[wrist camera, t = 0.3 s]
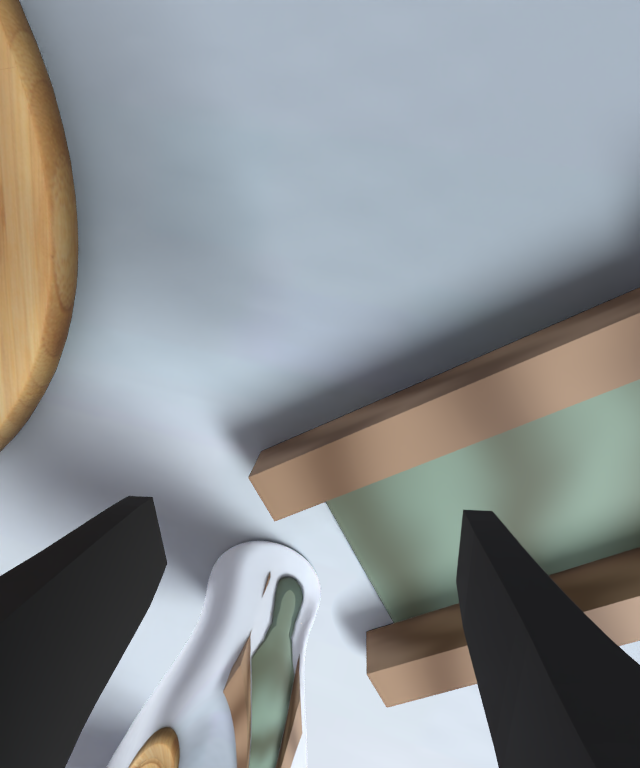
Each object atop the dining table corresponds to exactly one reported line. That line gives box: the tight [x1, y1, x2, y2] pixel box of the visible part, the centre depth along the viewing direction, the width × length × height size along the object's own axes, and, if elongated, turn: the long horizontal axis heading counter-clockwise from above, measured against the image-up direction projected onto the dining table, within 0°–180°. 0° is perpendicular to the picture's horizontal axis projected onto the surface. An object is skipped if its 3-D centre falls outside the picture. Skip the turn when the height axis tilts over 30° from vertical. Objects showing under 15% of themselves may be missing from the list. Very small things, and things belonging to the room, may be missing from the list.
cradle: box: [248, 288, 640, 707], centre depth 19 cm, size 21×14×4 cm
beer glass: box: [106, 541, 321, 768], centre depth 17 cm, size 7×7×15 cm
